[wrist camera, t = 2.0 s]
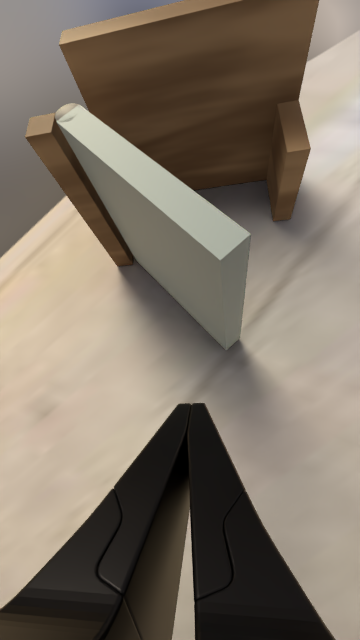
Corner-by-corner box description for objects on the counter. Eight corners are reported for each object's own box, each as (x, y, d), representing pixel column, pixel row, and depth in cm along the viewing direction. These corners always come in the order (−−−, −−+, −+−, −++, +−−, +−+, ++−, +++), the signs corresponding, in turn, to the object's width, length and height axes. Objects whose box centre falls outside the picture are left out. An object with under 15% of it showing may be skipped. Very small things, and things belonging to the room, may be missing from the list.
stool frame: (295, 247, 24) (358, 73, 12) (117, 266, 27) (25, 137, 15) (280, 165, 28) (318, -33, 16) (123, 189, 30) (51, 33, 18)
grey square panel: (226, 350, 22) (220, 260, 10) (131, 255, 27) (49, 115, 15) (239, 337, 22) (250, 233, 10) (143, 245, 27) (72, 99, 15)
